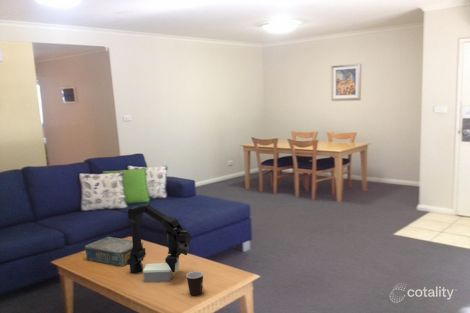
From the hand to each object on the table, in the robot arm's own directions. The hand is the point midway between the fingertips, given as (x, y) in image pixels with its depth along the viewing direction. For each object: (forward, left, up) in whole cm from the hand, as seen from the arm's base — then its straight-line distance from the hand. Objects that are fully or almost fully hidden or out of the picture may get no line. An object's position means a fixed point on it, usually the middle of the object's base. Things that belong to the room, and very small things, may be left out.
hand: (175, 268), depth 237 cm
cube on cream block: (-8, 0, -1) cm, 8 cm away
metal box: (-46, +36, -7) cm, 59 cm away
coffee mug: (+15, -17, -6) cm, 23 cm away
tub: (-9, 0, -6) cm, 11 cm away
